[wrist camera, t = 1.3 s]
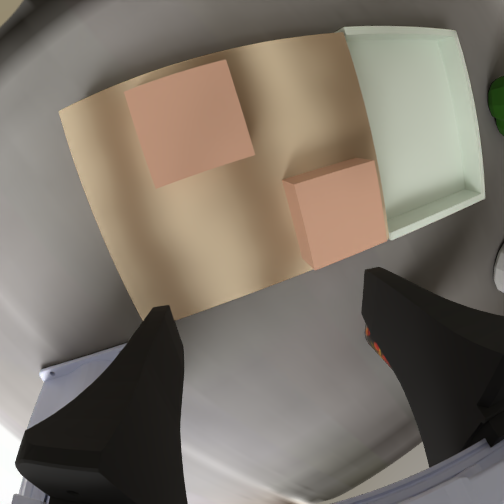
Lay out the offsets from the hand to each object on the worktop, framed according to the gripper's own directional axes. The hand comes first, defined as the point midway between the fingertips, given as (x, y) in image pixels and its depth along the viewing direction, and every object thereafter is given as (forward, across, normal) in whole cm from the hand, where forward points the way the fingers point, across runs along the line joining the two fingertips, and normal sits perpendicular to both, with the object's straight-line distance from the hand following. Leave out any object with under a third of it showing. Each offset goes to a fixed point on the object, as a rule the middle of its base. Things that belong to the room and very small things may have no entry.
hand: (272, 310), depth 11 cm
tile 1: (+8, -5, 0) cm, 10 cm away
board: (+11, 0, -3) cm, 11 cm away
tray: (+13, -14, -5) cm, 20 cm away
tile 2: (+8, +2, -6) cm, 11 cm away
